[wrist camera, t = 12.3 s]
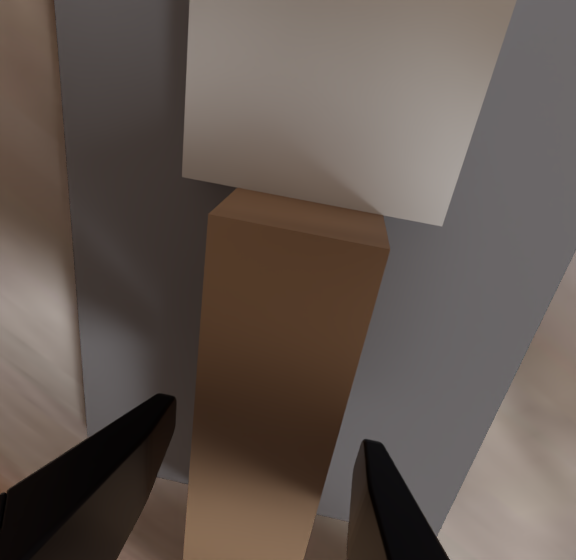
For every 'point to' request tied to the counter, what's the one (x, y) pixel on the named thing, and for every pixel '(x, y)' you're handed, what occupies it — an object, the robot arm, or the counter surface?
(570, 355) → the counter surface
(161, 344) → the mat
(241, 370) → the two-tone stepped block
